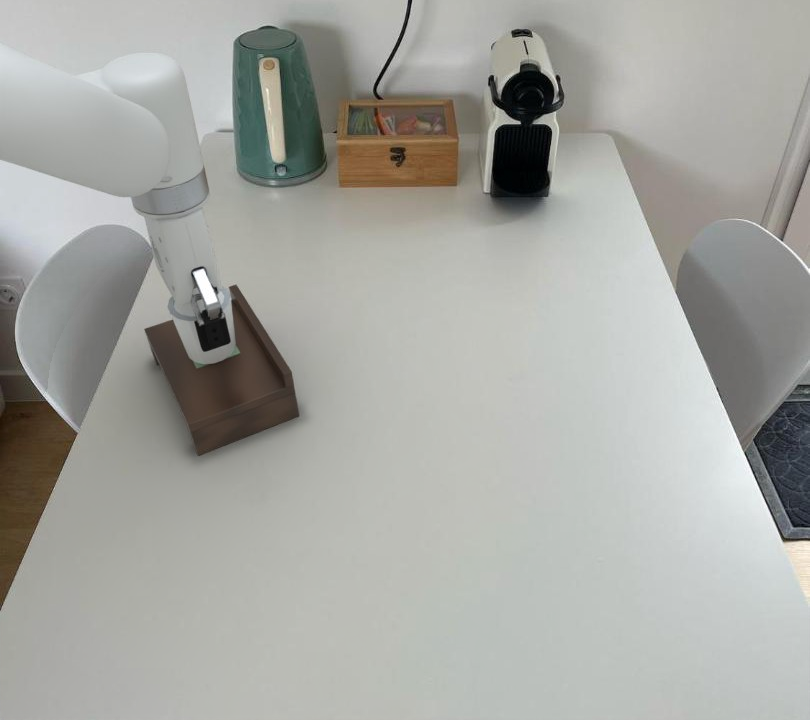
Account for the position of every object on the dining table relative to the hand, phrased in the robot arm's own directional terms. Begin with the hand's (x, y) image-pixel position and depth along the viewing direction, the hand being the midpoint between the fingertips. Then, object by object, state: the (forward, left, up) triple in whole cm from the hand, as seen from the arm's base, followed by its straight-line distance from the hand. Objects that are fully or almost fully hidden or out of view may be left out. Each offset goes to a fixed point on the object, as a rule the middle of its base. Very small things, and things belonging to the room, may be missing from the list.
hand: (202, 321), depth 91 cm
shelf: (0, -1, -9) cm, 9 cm away
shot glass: (0, 0, -4) cm, 4 cm away
